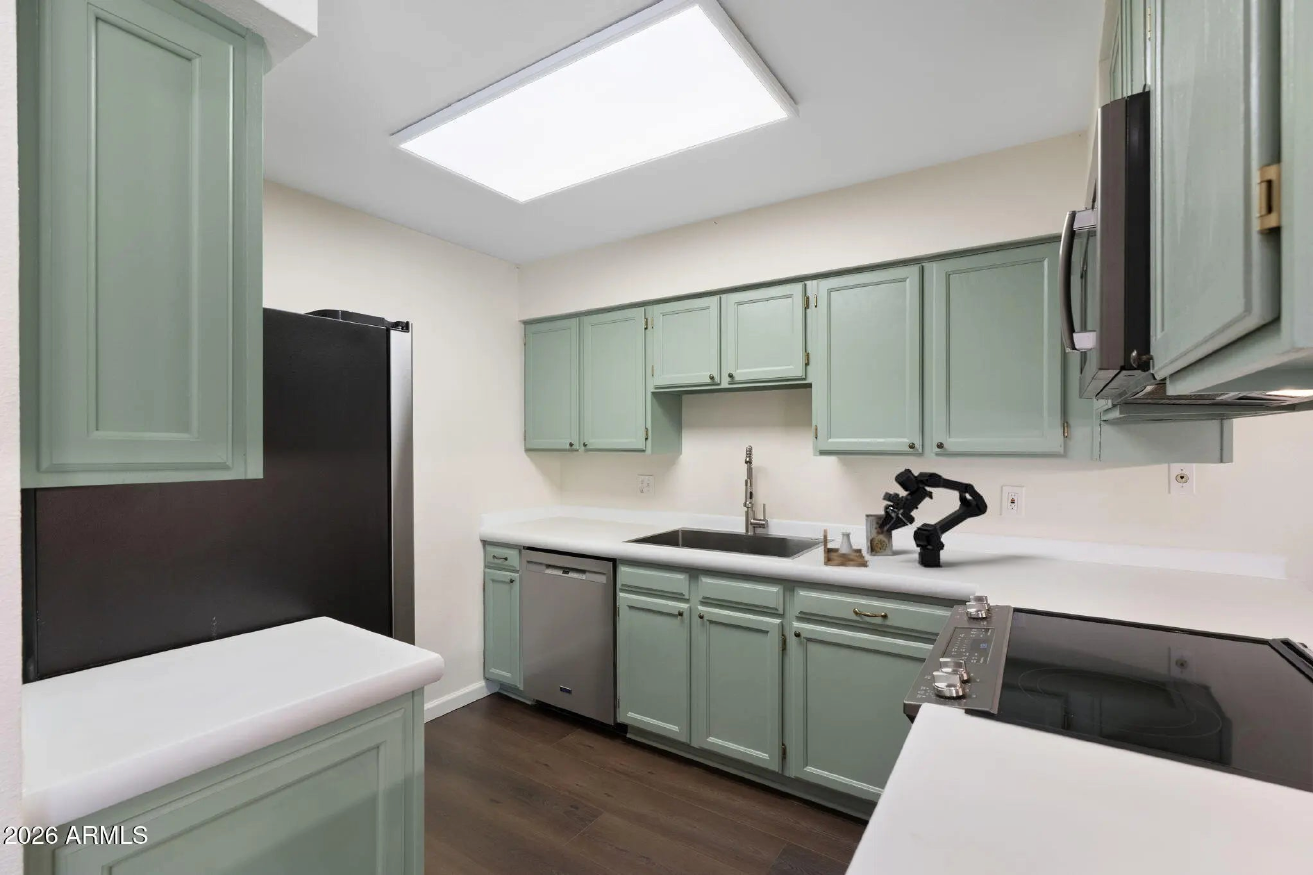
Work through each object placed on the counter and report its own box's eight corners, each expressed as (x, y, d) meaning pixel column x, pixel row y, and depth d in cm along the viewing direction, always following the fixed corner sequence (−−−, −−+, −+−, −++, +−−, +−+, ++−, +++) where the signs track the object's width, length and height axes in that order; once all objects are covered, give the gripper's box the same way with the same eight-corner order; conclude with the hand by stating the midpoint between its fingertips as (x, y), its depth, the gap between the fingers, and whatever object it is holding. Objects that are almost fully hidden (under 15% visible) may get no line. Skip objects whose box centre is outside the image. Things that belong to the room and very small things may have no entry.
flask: (847, 556, 234) (846, 530, 234) (860, 559, 227) (859, 533, 227) (832, 558, 231) (831, 532, 231) (845, 561, 224) (844, 534, 224)
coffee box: (888, 552, 246) (887, 513, 246) (893, 555, 240) (892, 515, 240) (865, 552, 247) (864, 513, 247) (869, 555, 241) (868, 515, 241)
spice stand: (864, 559, 234) (863, 530, 234) (866, 567, 220) (865, 535, 220) (824, 558, 238) (823, 529, 238) (824, 565, 224) (823, 534, 224)
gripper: (888, 482, 229) (859, 511, 230) (904, 486, 210) (873, 518, 211) (910, 502, 228) (881, 531, 229) (928, 508, 210) (896, 540, 211)
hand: (882, 530), depth 220 cm, fingers open, 9 cm apart
